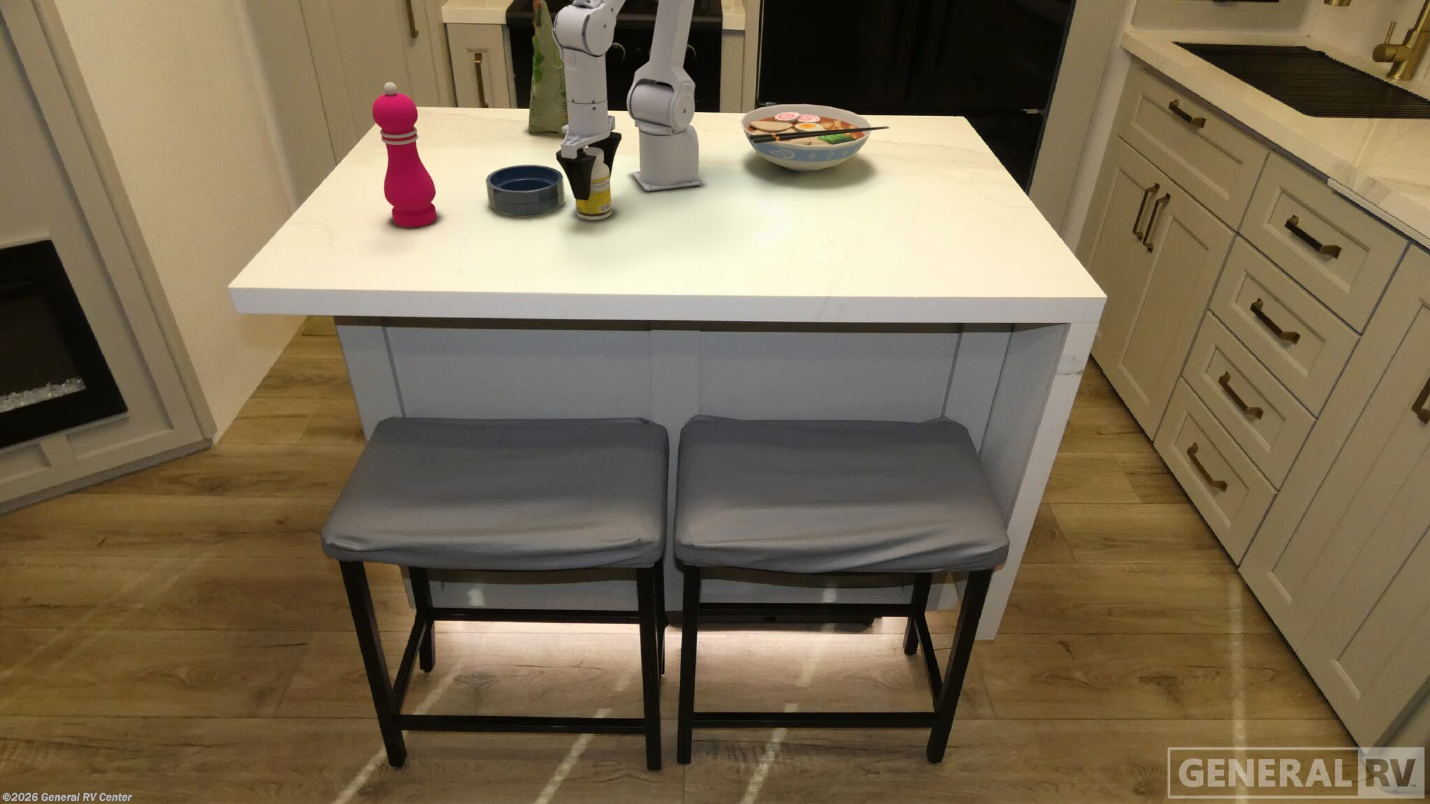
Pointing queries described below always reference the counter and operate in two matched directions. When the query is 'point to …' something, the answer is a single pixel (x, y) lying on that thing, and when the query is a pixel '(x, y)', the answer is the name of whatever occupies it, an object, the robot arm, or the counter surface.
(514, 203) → the bowl
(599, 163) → the supplement bottle
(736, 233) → the counter surface
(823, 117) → the ramen bowl
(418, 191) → the pepper mill
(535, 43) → the pouch
